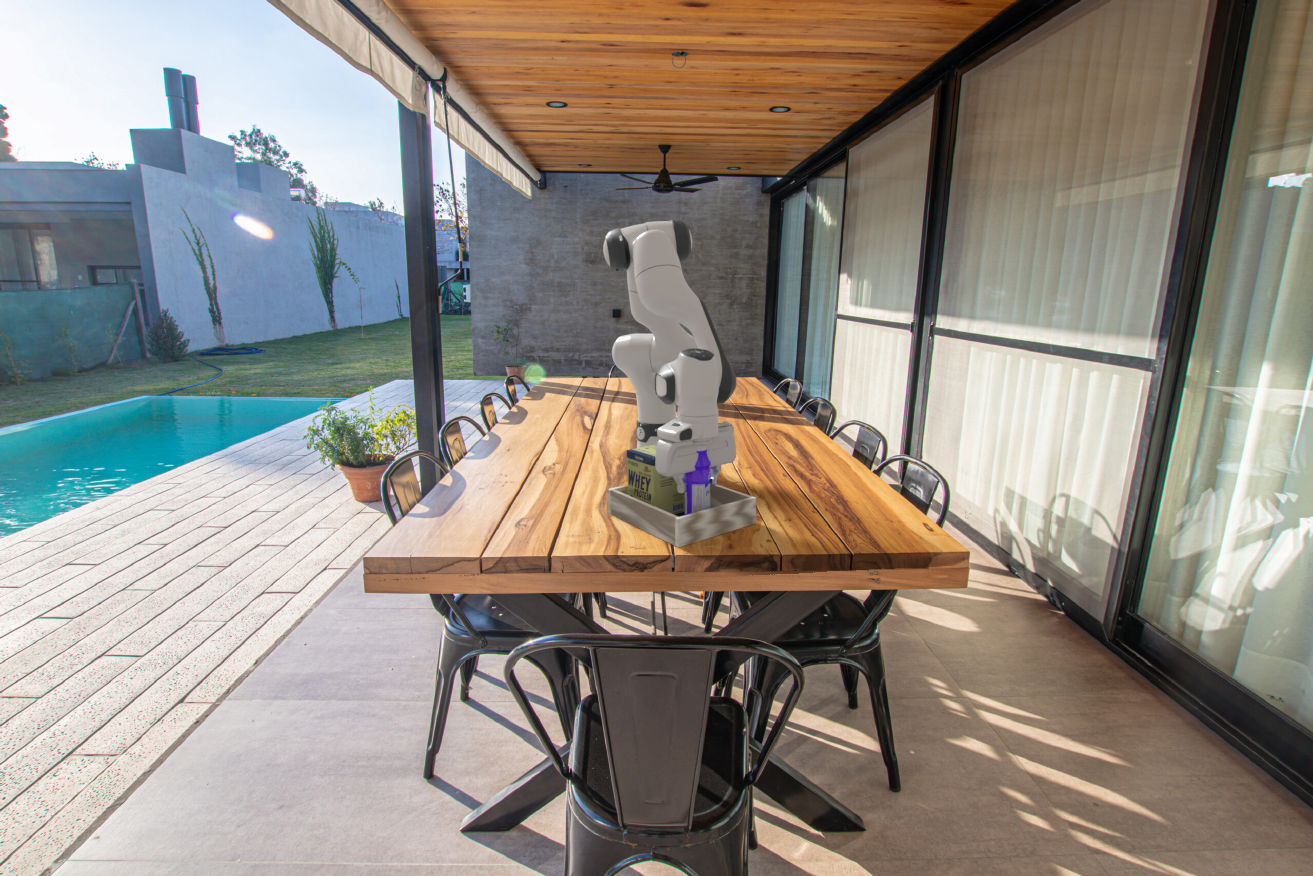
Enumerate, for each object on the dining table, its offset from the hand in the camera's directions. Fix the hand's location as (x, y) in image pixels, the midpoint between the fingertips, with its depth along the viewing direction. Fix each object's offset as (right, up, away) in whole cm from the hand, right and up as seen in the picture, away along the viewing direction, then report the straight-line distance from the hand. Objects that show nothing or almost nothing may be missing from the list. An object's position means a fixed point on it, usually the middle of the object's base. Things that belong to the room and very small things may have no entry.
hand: (697, 488), depth 139 cm
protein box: (-6, -7, +10) cm, 14 cm away
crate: (-4, -7, +6) cm, 10 cm away
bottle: (0, -7, +2) cm, 7 cm away
